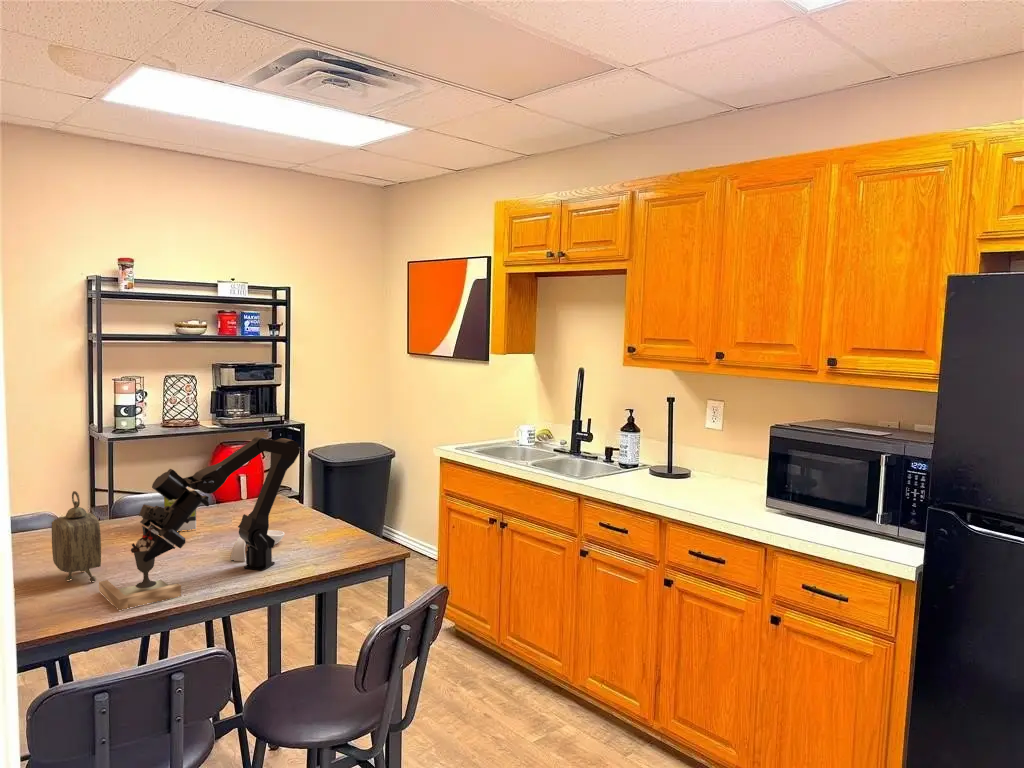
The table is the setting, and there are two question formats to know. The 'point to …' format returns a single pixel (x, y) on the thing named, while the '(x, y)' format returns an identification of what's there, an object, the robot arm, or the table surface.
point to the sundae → (139, 553)
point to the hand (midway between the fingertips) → (139, 558)
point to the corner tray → (138, 594)
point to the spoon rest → (240, 544)
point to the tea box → (192, 518)
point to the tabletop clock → (76, 541)
